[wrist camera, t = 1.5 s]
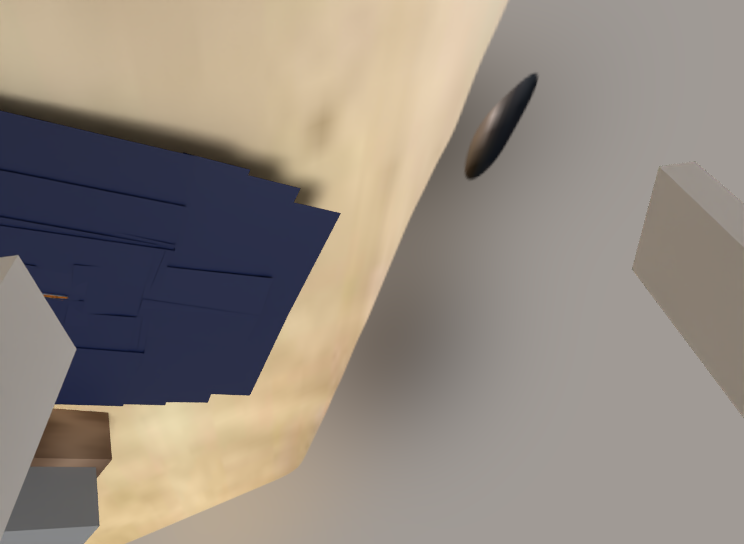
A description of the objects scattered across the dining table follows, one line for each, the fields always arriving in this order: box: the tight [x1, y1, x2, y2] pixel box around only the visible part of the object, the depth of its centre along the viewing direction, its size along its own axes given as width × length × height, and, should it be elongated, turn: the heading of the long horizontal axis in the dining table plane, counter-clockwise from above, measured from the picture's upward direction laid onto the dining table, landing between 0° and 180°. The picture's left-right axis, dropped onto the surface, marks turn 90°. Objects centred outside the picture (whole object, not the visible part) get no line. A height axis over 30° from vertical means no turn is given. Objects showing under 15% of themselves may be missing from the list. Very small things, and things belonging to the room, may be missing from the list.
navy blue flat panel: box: [0, 111, 341, 406], centre depth 37 cm, size 24×30×4 cm
